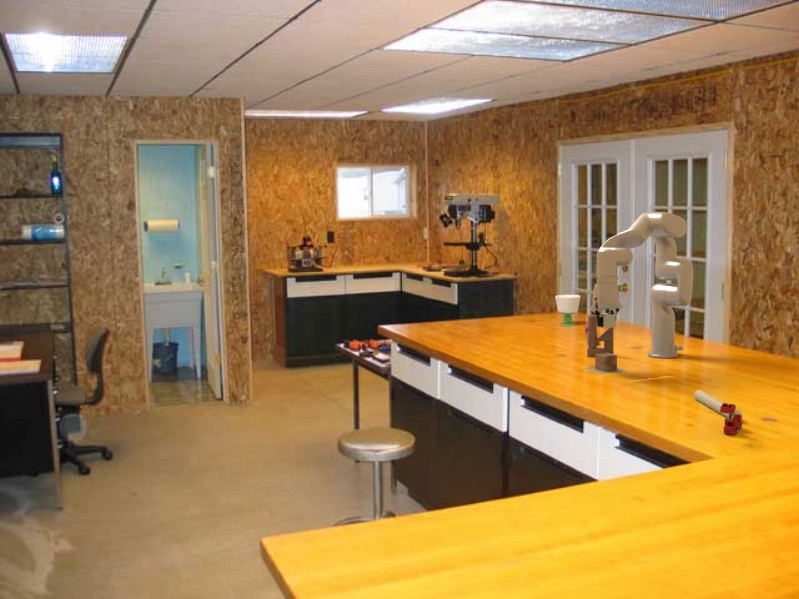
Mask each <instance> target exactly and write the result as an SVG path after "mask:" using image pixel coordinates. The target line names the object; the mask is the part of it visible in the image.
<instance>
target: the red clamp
mask: <svg viewBox="0 0 799 599" xmlns="http://www.w3.org/2000/svg"><path fill="white" fill-rule="evenodd" d="M736 409H737V406H736V404H735V403H728V402H727V403H726V402H724V403H723V404H722V405H721V407H720V413H727V414H729V415H728V418H724V426H723V434H727V435H737V434H738V433H739V431H740V430H742V426H743V421H742V419H743V417H742V416H743V415H742V416H741V415H740V414H735V410H736ZM720 413H719V414H720Z"/></svg>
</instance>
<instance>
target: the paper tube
mask: <svg viewBox="0 0 799 599" xmlns="http://www.w3.org/2000/svg"><path fill="white" fill-rule="evenodd" d="M693 397H694V399H695V400H696V401H697V402H700V404H703V405H704V406H706V407H708V408H709V409H712V410H713V411H715V412H717V413H719V414H720V415H722V416H724V417H726V419H728V415H729V414H727V413H720V407H721V405H722V404H723V403H725V402H723V401H722V400H720V399H719V398H716V397H714V396H712V395H710V394H708V393H706V392H705V391H704V390H700V389H699V390H696V391H695V392H694V393H693ZM735 414H740V415H741V416H742V420H744V419H745V418H743V417H744V415H743V413H742V412H741V411H740V410H739V409H737V408H736V410H735Z"/></svg>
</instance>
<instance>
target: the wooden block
mask: <svg viewBox="0 0 799 599" xmlns="http://www.w3.org/2000/svg"><path fill="white" fill-rule="evenodd" d="M587 318H588V319H587V320H588V322H587V323H588V341H587V346H588V347H587V351H586V352H587V353H586V354H587V357H591V358H592V357H593V358H594V357H595V354H602V353H610V354H614V328H615V327H612V328H607V330H605V331H604V332H603V333H602V334H601V335H600V336H598V335H597V333H598V331H597V329H598V328H597V316H596V315H595V314H590V315H588V317H587ZM597 337H598V339H597ZM597 341H598V342H603V347H598V346H597V345H598V344H597Z"/></svg>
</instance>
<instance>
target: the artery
mask: <svg viewBox="0 0 799 599" xmlns="http://www.w3.org/2000/svg"><path fill="white" fill-rule="evenodd" d="M584 332H585V336H586V342H588V322H586V323H585V325H584ZM598 338H599V336H597V339H598ZM597 345H599V341H597Z"/></svg>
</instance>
